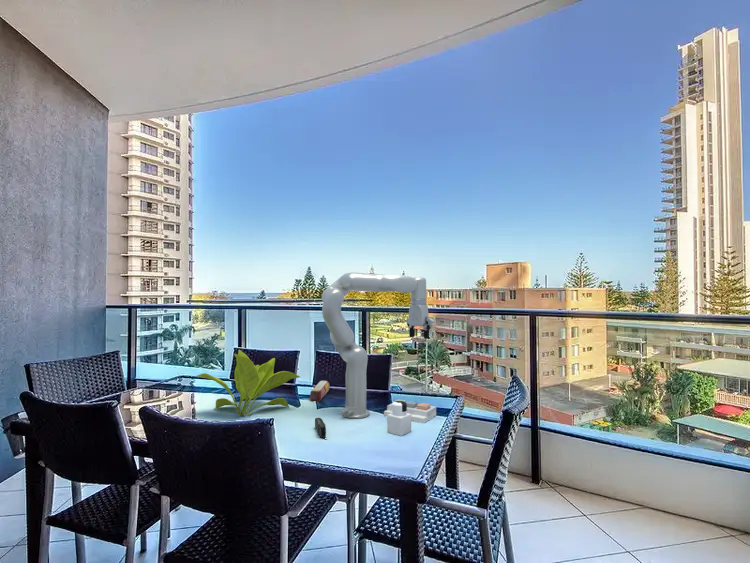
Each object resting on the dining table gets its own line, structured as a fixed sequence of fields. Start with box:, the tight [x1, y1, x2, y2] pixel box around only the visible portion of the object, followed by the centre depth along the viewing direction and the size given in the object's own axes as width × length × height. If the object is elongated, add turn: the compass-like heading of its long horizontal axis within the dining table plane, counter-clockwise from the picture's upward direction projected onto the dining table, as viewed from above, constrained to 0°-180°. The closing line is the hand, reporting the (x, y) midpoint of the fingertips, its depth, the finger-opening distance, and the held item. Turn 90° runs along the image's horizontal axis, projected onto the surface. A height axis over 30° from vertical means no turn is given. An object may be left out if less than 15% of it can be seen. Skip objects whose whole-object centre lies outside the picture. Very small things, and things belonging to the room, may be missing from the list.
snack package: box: [309, 380, 331, 402], centre depth 219 cm, size 21×7×7 cm, turn 175°
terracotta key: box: [417, 402, 431, 410], centre depth 183 cm, size 4×4×2 cm
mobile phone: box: [314, 417, 327, 439], centre depth 161 cm, size 5×3×15 cm
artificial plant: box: [196, 349, 301, 417], centre depth 191 cm, size 42×43×30 cm
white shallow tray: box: [383, 401, 437, 424], centre depth 185 cm, size 13×20×4 cm, turn 58°
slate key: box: [406, 400, 419, 408], centre depth 186 cm, size 4×4×2 cm
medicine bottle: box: [386, 400, 412, 437], centre depth 163 cm, size 7×7×12 cm
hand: (419, 337), depth 198 cm, fingers open, 9 cm apart
